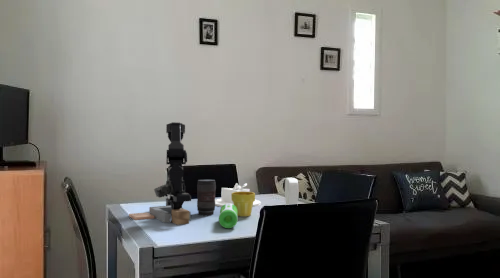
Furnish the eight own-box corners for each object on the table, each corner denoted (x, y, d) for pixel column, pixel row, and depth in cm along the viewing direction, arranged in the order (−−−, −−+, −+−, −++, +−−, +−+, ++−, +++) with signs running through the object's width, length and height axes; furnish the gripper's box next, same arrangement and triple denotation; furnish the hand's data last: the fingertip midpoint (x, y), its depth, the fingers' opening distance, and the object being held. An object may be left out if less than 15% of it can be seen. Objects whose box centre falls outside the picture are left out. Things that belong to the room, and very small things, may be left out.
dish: (269, 203, 235) (269, 181, 234) (242, 210, 213) (243, 186, 213) (230, 198, 248) (230, 178, 247) (201, 204, 227) (201, 182, 226)
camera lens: (218, 213, 203) (219, 179, 202) (209, 216, 195) (209, 181, 195) (202, 211, 206) (203, 178, 206) (193, 214, 199) (193, 180, 199)
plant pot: (227, 216, 196) (227, 193, 196) (236, 212, 206) (236, 190, 205) (250, 218, 192) (250, 195, 192) (258, 214, 202) (258, 192, 202)
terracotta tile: (147, 214, 197) (147, 212, 197) (154, 218, 189) (154, 215, 189) (128, 216, 192) (129, 213, 192) (135, 220, 185) (135, 217, 185)
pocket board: (173, 213, 201) (174, 205, 201) (190, 220, 186) (190, 211, 186) (149, 215, 196) (149, 207, 196) (164, 222, 180) (164, 213, 180)
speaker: (219, 220, 188) (220, 202, 188) (237, 220, 188) (237, 202, 188) (218, 229, 170) (218, 209, 170) (237, 229, 170) (238, 209, 170)
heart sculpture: (300, 227, 176) (300, 180, 176) (287, 227, 176) (287, 180, 176) (294, 219, 192) (295, 176, 192) (282, 219, 192) (283, 176, 191)
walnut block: (182, 220, 185) (183, 208, 185) (188, 223, 180) (189, 210, 180) (171, 221, 182) (171, 209, 182) (177, 224, 177) (177, 211, 177)
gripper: (148, 176, 189) (148, 214, 189) (165, 181, 173) (164, 222, 173) (174, 175, 194) (173, 212, 195) (192, 179, 178) (191, 219, 179)
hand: (175, 216), depth 185 cm, fingers closed
